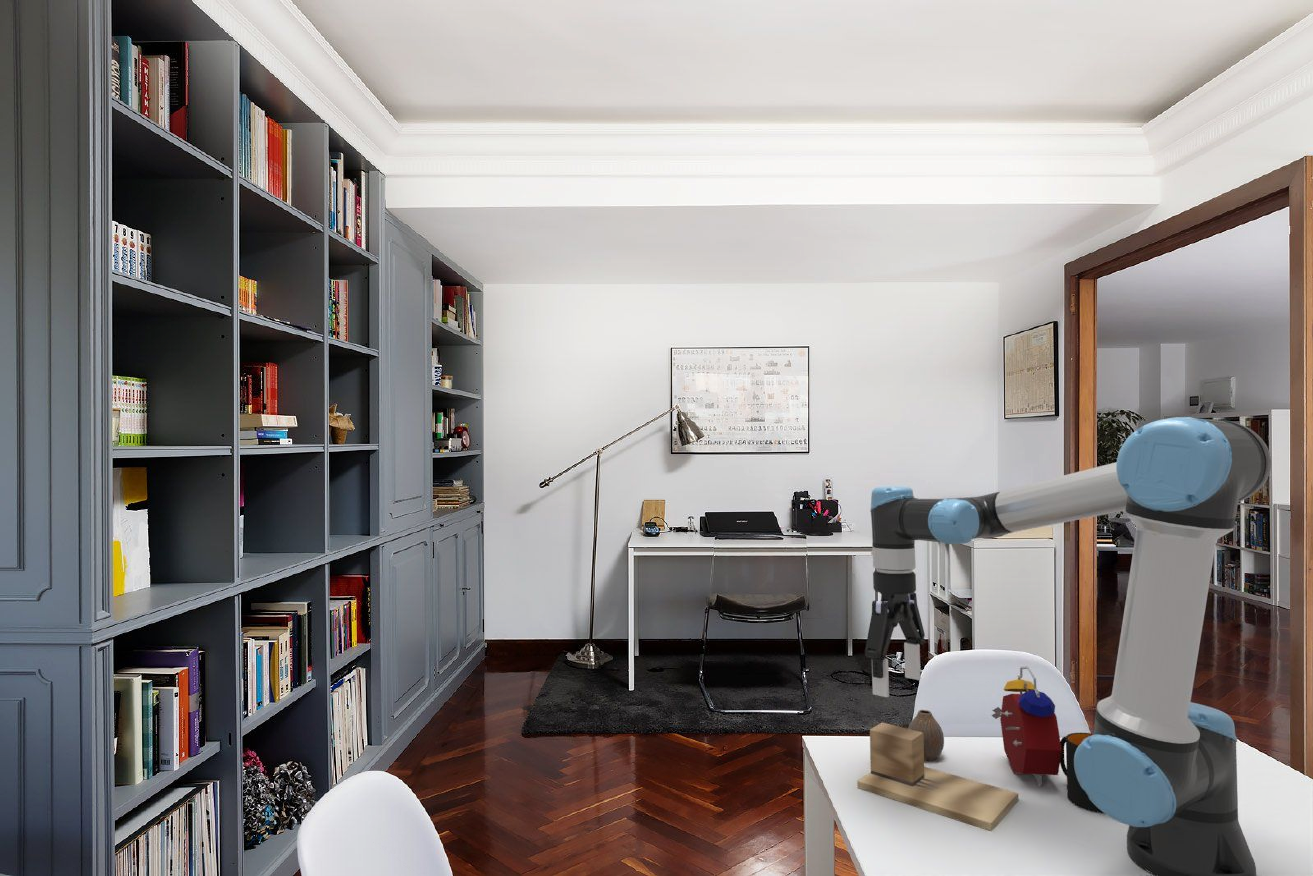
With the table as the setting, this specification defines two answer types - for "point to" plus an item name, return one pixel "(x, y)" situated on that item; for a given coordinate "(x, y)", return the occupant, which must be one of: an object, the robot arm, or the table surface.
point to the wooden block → (897, 753)
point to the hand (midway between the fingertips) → (897, 686)
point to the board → (947, 796)
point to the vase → (929, 733)
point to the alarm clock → (1029, 729)
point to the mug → (1073, 786)
